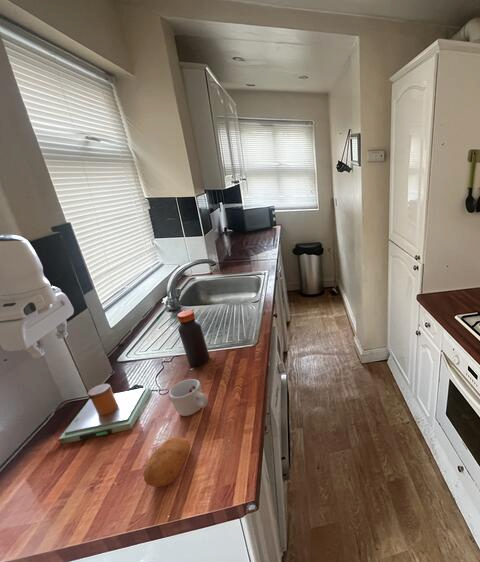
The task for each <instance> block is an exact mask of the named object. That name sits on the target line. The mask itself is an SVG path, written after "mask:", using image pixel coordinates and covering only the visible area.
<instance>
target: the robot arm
mask: <svg viewBox="0 0 480 562" xmlns="http://www.w3.org/2000/svg"><path fill="white" fill-rule="evenodd" d="M74 312H75V309H74V306H73V305H72V303H71V301H70V299H69V297H68V296H67V294H66V293H64V292H62V289H61V288H59V287H57V286H53V285H51V283H50V280H48V278H47V277H46V276H45V274H44V267H43V264H42V262H41V260H40V257H39V256H38V254H37V252H36V250H35V249H34V247H33V246H32V244H31V243H30V241H28V240H27V239H26V238H24V237H22V236H21V235H16V234H9V233H0V346H1V348H2V349H3V350H4V351H7V352H10V353H11V352H20V351H25V352H27V353H29V354H30V355H31V358H33V359H40V358H42V357H43V356H45V354H46V352H45V349H44V348H39V347H38V341H40V340H41V339H42V338H43V337H45V336H46V335H48V334H49V333H51V331H53V330H54V329H55V328H56V332H55V336H56V338H57V339H59V340H60V339H65V338H66V337H67V336H69V333H68V330H67V329H68V321H67V320H68V319H69V318H70V317H72V316H73V315H74Z"/></svg>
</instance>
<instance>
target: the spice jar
mask: <svg viewBox="0 0 480 562" xmlns="http://www.w3.org/2000/svg"><path fill="white" fill-rule="evenodd" d="M114 394H115V393H114V392H113V390H112V386H111V385H110V383H100V384H98V385H95V386H94V387H92V388H91V389H90V390H88V392H87V396H88V398H89V399H91V400H92V402H93V404H94V406H95V408H96V410H97V412H98V414H99V415H105V414H108V413H110V412H112V411H114V410H115V409H116V408H117V407H118V403H117V401H116V399H115V397H114Z"/></svg>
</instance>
